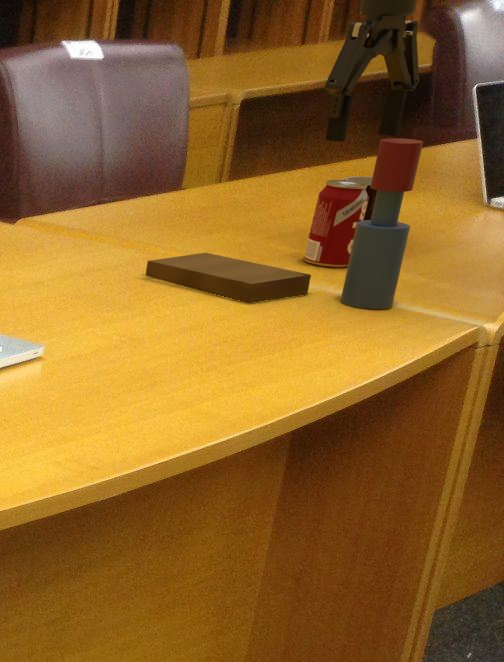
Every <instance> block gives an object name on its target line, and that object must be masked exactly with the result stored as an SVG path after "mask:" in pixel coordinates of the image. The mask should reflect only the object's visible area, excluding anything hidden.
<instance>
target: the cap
mask: <svg viewBox="0 0 504 662" xmlns="http://www.w3.org/2000/svg"><path fill="white" fill-rule="evenodd" d="M423 145H424V141H422V140H419V139H413V138H401V137H399V138H398V137H397V138H396V137H394V138H393V137H389V138H381V139H380V141H379V146H378V150H377V155H376V158H375V159H376V160H375V163H374V169H373V174H372V177H373V178H372V182H371V188H372V189H375V190H381V191H391V192H404V193H406V192H412V191H413V190H414V185H415V180H416V176H417V172H418V167H419V162H420V157H421V154H422V150H423Z"/></svg>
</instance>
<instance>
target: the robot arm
mask: <svg viewBox="0 0 504 662" xmlns="http://www.w3.org/2000/svg"><path fill="white" fill-rule="evenodd" d="M360 2H361V3H360V6H359V13H360V15H362V16H365V20H364V22H355V21H353V22H351V23H350V24H349V26H348V31H347V33H346V34H347V35H346V38H345V40H344V43H343V45H342V47H341V49H340V52H339V54H338V56H337V58H336V60H335V62H334V64H333V66H332V69H331V71H330V73H329V75H328V77H327V79H326V81H325V83H324V90H325V91H326V94H328V95H332V99H331V105H330V111H329V118H328V123H327V129H326V134H325V141H330V142H342V143H343V142H345V140H346V136H347V131H348V126H349V125H348V124H349V120H350V116H351V110H352V105H353V101H354V95H352V94H351V92H352V91H353V89H354V87H355V86H356V85H357V84H358V82H359V80H360V78H361V76H363V73H365V71H366V69H367V68H368V66H369V64H370V62H371V61H372V60H373V59H375V58H376V57H378V56H382V57H383V60H384V63H385V67H386V71H387V75H388V79H389V82H390V86H391V89H387V92H386V96H385V101H384V106H383V112H382V116H381V120H380V124H379V125H380V126H379V129H378V135H379V136H388V137H398V136H399V131H400V126H401V122H402V117H403V111H404V108H405V103H406V98H407V93H408V91H412V92H413V91H415V90H416V88H417V85H418V84H419V82H420V70H419V69H420V68H419V67H420V66H419V56H418V55H419V52H418V29H419V21H418V20H407V19H406V18H407V17H408V16H409V17H410V16H413V15H414V14H415V13H416V11H417V10H416V9H417V4H418V0H360ZM350 94H351V95H350Z"/></svg>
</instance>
